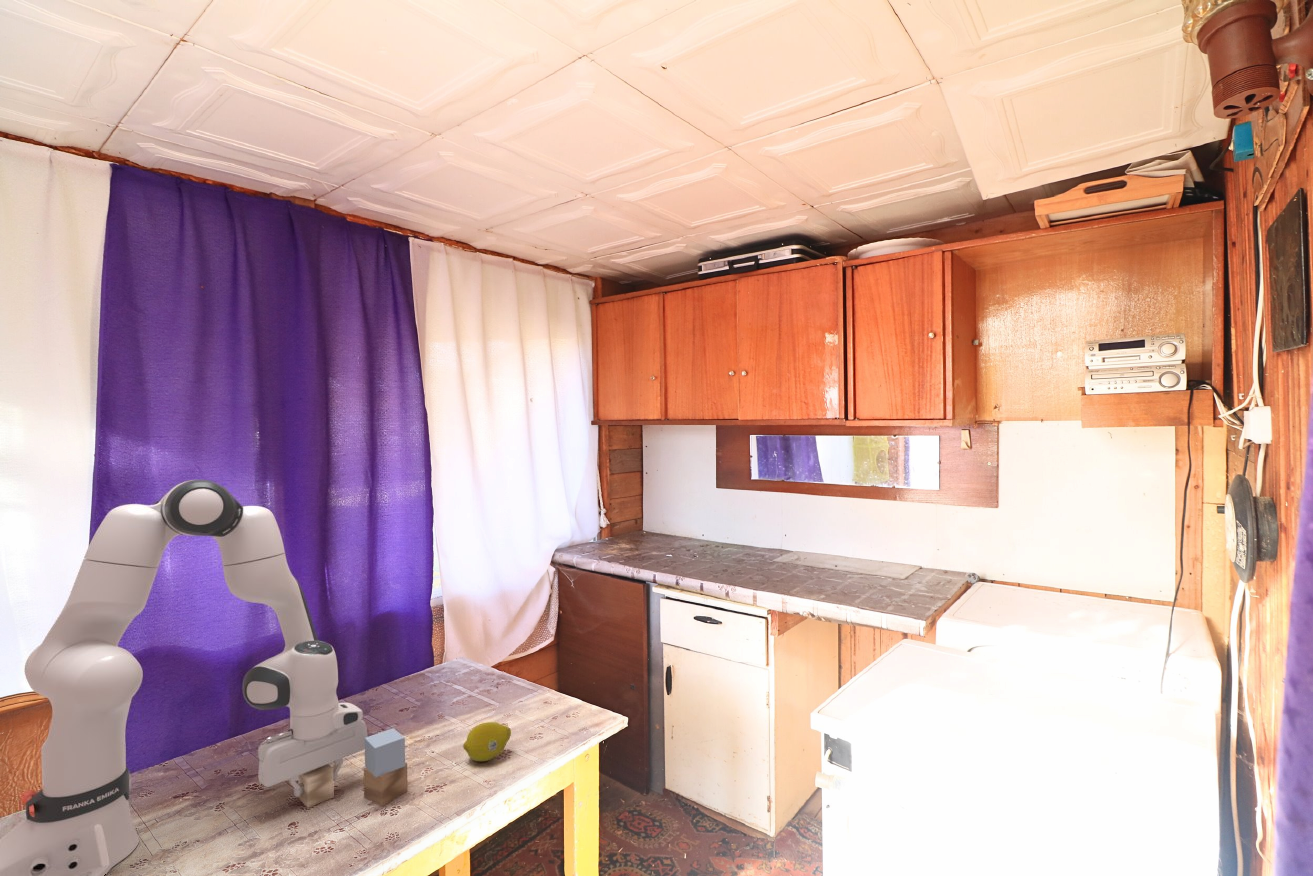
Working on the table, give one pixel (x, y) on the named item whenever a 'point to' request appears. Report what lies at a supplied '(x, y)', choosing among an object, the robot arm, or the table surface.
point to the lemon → (486, 741)
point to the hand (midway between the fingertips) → (316, 787)
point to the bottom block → (385, 785)
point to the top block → (384, 752)
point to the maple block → (317, 785)
